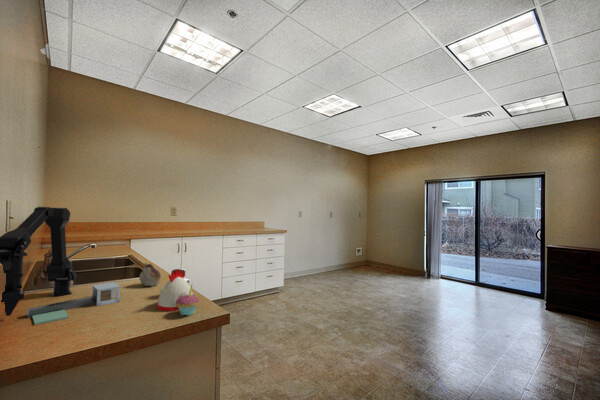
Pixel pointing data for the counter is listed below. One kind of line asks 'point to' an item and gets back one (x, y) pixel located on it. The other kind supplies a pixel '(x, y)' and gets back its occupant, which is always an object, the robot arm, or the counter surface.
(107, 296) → the block
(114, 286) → the tunnel
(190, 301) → the cupcake
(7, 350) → the counter surface
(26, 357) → the counter surface
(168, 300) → the kitchen timer
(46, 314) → the coaster
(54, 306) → the bar
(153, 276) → the grey rounded lump
